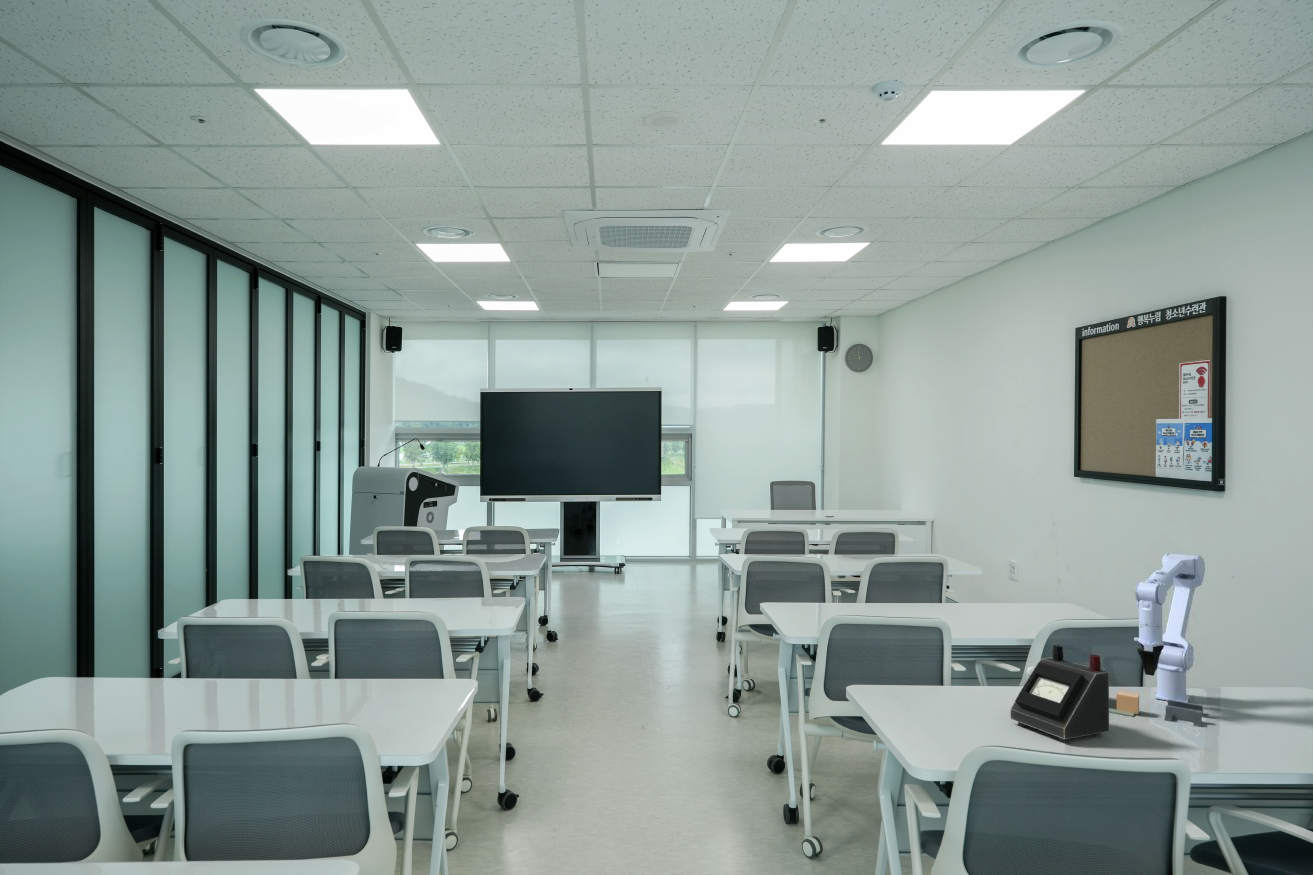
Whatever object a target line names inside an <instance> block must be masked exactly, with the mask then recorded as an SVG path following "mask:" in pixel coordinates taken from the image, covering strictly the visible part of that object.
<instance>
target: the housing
mask: <svg viewBox="0 0 1313 875" xmlns="http://www.w3.org/2000/svg"><path fill="white" fill-rule="evenodd" d="M1203 707H1204V705H1203V704H1198V703H1193V702H1189V701H1188V702H1182V701H1176V700H1170V699H1168V701H1167V704H1166V705H1165V714H1164V721H1167V722H1173V720H1179V721H1184V722H1190V723H1193V726H1195V727H1199V728H1201V727H1202V725H1203V724H1202V723H1203V717H1204V708H1203Z"/></svg>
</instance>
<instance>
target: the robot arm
mask: <svg viewBox="0 0 1313 875" xmlns="http://www.w3.org/2000/svg"><path fill="white" fill-rule="evenodd" d="M1161 565H1162V568H1161V569H1160V570H1158V569H1156V570H1155V571H1154V572H1152V574H1151V575H1149V577H1147V579H1146V580H1145V581H1140V582H1139V583H1136V585H1135V589H1134V598H1135V600H1136V607H1137V608H1138V637H1134V638H1133V641H1135V642H1138V643H1140V647H1138V648H1137V654H1138V655H1139V656H1140V659H1141V662H1142V668H1143V671H1144V675H1146V676H1153V677H1154V676H1155V674H1156V686H1157V687H1156V691H1155V695H1154V699H1156V700H1162V701H1167V702H1168V699H1170V700H1176V701H1182V702H1188V703H1189V698H1190V695H1189V694H1187V671H1190V670H1191V669H1192V667H1193V664H1194V653H1195V652H1194V647H1193V645H1192V644H1191V643H1190V642H1189V641H1188V640H1187V639H1185V637H1186V633H1187V629H1188V628H1187V627H1188V623H1189V618H1190V613H1191V610H1192V604H1193V600H1194V599H1193V598H1194V594H1195V592H1196V588H1198V587H1201V586H1202V585H1203V581H1204V577H1205V572H1206V564H1205V559H1204V558H1203V557H1202V556H1201V555H1190V554H1189V555H1188V554H1181V553H1180V554H1179V553H1170V552H1166V553H1165V554H1164V555H1163V556H1162V560H1161ZM1173 585H1174V587H1175V588H1174V591H1173V596H1172V601H1171V605H1170V611H1169V613H1168V614H1169V615H1168V619H1167V624H1166V627H1165V628H1166V629H1165V633H1163V604H1165V602H1166V599H1167V596H1168V591H1169V590H1170V589H1171V588H1172V587H1173Z"/></svg>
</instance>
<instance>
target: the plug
mask: <svg viewBox="0 0 1313 875" xmlns="http://www.w3.org/2000/svg"><path fill="white" fill-rule="evenodd" d="M1109 708H1111V709H1116V710H1117V711H1122V712H1127V713H1133V714H1135V715H1139V712H1140V694H1139V693H1138V694H1137V693H1133V692H1132V693H1130V692H1125V691H1117V693H1116V698H1113V697H1109Z"/></svg>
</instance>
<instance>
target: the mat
mask: <svg viewBox="0 0 1313 875" xmlns="http://www.w3.org/2000/svg"><path fill="white" fill-rule="evenodd" d="M1109 714H1115V715H1119V716H1126V717H1132V718H1133V717H1135V715H1136V714H1133V713H1127V712H1122V711H1117V710H1116V709H1111V708H1109Z"/></svg>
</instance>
